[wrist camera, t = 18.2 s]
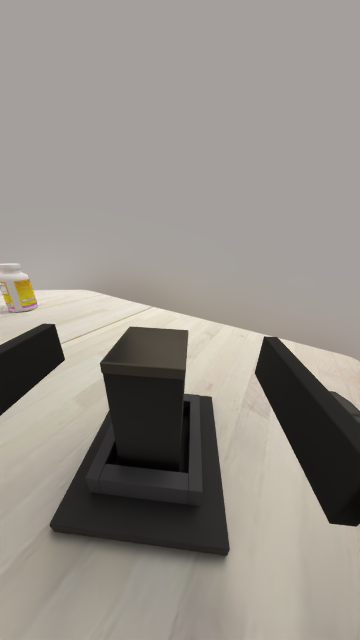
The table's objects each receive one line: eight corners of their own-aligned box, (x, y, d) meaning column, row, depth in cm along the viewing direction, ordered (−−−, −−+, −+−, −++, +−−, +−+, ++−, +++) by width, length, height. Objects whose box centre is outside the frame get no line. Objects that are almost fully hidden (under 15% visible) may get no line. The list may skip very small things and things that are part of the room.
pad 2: (227, 556, 11) (235, 537, 10) (52, 531, 12) (39, 511, 10) (210, 402, 22) (213, 384, 21) (121, 394, 23) (119, 376, 21)
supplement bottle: (41, 304, 55) (28, 263, 50) (33, 311, 49) (18, 265, 44) (15, 306, 52) (-1, 263, 47) (4, 313, 47) (-16, 265, 42)
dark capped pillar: (179, 476, 14) (185, 369, 10) (119, 469, 14) (99, 362, 10) (183, 419, 19) (188, 330, 14) (137, 414, 19) (129, 326, 15)
